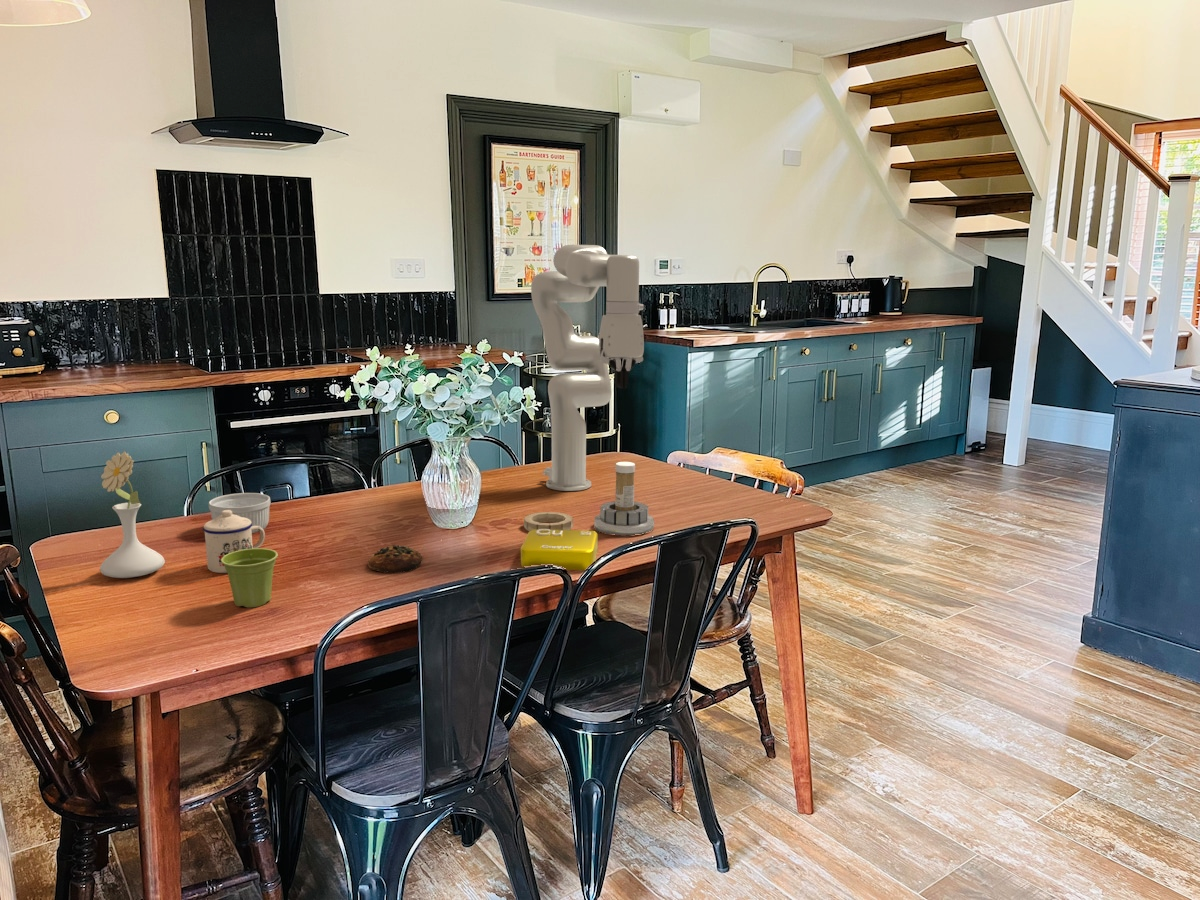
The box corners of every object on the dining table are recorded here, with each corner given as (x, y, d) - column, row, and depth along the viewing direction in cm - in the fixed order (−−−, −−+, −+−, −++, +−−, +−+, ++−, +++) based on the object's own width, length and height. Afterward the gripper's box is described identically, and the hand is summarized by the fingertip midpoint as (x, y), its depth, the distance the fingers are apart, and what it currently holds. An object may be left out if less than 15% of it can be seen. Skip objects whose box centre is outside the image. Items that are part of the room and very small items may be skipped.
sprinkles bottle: (611, 517, 209) (612, 461, 206) (629, 515, 210) (630, 460, 208) (618, 522, 205) (619, 465, 202) (637, 520, 206) (638, 464, 204)
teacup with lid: (219, 577, 172) (214, 519, 170) (198, 566, 178) (193, 511, 176) (276, 562, 181) (273, 507, 179) (255, 553, 187) (251, 499, 184)
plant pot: (287, 604, 159) (284, 558, 157) (231, 616, 153) (228, 568, 152) (272, 589, 166) (269, 545, 164) (219, 599, 161) (215, 553, 159)
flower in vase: (96, 571, 175) (82, 447, 170) (158, 560, 182) (147, 441, 177) (107, 590, 165) (93, 459, 160) (173, 577, 172) (162, 452, 166)
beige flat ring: (514, 527, 207) (514, 519, 207) (546, 517, 216) (546, 509, 215) (550, 536, 200) (550, 528, 200) (582, 525, 209) (582, 517, 208)
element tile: (519, 570, 179) (519, 547, 178) (530, 547, 194) (529, 526, 193) (592, 572, 178) (593, 549, 177) (598, 549, 193) (598, 528, 192)
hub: (582, 528, 207) (582, 507, 206) (618, 515, 217) (618, 496, 216) (630, 540, 198) (630, 518, 197) (665, 526, 209) (666, 506, 208)
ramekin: (282, 528, 204) (280, 499, 203) (226, 541, 195) (224, 510, 194) (255, 517, 213) (253, 489, 212) (201, 528, 204) (198, 499, 202)
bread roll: (397, 577, 173) (395, 552, 173) (356, 574, 179) (354, 550, 178) (435, 563, 183) (432, 539, 182) (395, 561, 188) (392, 538, 188)
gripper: (644, 308, 212) (643, 384, 216) (586, 308, 207) (586, 386, 210) (658, 309, 205) (656, 388, 209) (598, 310, 200) (597, 390, 203)
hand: (621, 387), depth 210 cm, fingers closed
